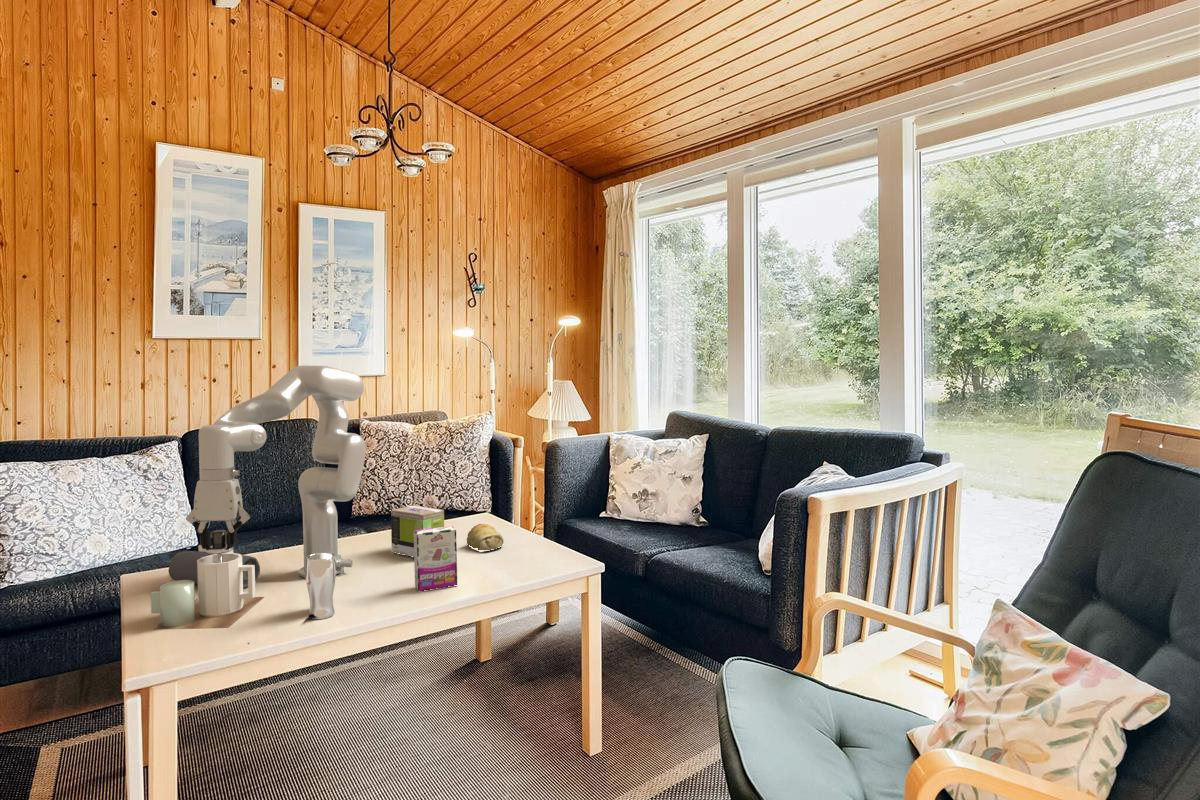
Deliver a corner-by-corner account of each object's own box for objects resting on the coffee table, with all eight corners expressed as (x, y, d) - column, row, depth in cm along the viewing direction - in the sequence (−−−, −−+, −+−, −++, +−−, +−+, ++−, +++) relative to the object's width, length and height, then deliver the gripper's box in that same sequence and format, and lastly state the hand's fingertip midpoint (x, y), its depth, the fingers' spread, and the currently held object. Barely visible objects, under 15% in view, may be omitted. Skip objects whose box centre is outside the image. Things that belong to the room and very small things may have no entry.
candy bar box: (452, 581, 201) (452, 525, 200) (457, 586, 196) (457, 529, 195) (413, 587, 196) (413, 529, 195) (417, 592, 191) (417, 533, 190)
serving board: (264, 601, 184) (264, 596, 184) (228, 632, 163) (228, 627, 163) (197, 602, 182) (197, 598, 182) (152, 634, 161) (152, 629, 161)
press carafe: (262, 602, 179) (260, 552, 179) (246, 616, 170) (244, 563, 169) (210, 603, 178) (208, 553, 178) (191, 617, 169) (189, 564, 168)
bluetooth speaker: (262, 585, 196) (261, 550, 195) (238, 596, 187) (237, 560, 186) (194, 579, 201) (193, 545, 201) (167, 590, 192) (166, 554, 192)
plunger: (240, 592, 177) (238, 528, 176) (228, 601, 171) (226, 534, 170) (213, 592, 177) (211, 528, 176) (200, 601, 170) (198, 535, 169)
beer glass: (311, 610, 177) (310, 552, 176) (339, 609, 178) (338, 551, 177) (302, 620, 170) (301, 560, 169) (331, 619, 171) (330, 559, 170)
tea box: (445, 553, 229) (445, 509, 228) (422, 561, 221) (422, 514, 220) (413, 546, 237) (413, 503, 236) (390, 553, 229) (389, 509, 228)
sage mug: (200, 615, 170) (199, 579, 169) (186, 627, 163) (184, 589, 162) (160, 616, 169) (159, 580, 169) (144, 628, 162) (143, 590, 162)
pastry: (472, 541, 245) (472, 519, 244) (507, 542, 243) (507, 520, 243) (460, 552, 231) (460, 529, 230) (497, 554, 229) (497, 530, 229)
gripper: (259, 472, 176) (260, 543, 177) (188, 472, 175) (190, 544, 176) (246, 477, 169) (248, 551, 170) (172, 477, 167) (174, 552, 168)
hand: (218, 546), depth 173 cm, fingers open, 5 cm apart
